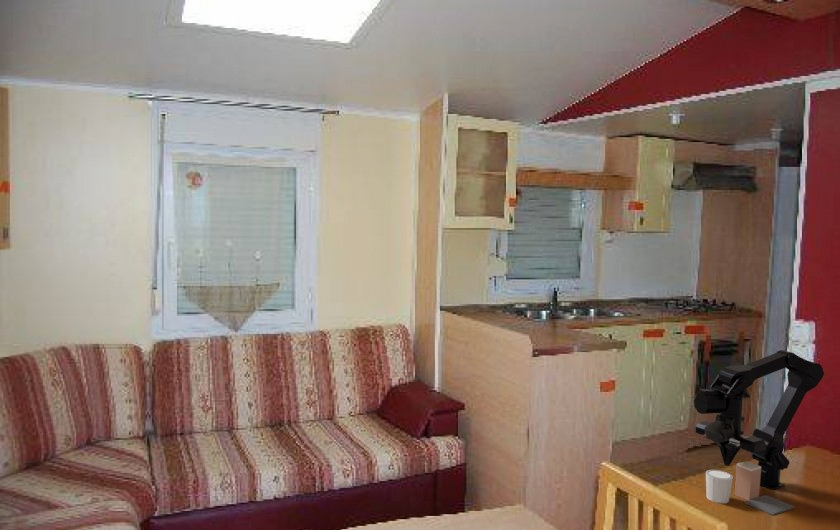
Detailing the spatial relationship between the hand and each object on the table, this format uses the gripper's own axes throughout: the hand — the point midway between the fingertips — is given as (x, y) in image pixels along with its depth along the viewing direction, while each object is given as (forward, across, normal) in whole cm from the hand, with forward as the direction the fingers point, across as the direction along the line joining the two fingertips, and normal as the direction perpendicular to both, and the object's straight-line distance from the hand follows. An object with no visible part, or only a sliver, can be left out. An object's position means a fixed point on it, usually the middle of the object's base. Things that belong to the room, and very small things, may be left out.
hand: (727, 465), depth 183 cm
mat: (+6, +13, 0) cm, 15 cm away
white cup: (+7, +4, -9) cm, 12 cm away
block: (+6, +6, 0) cm, 9 cm away
